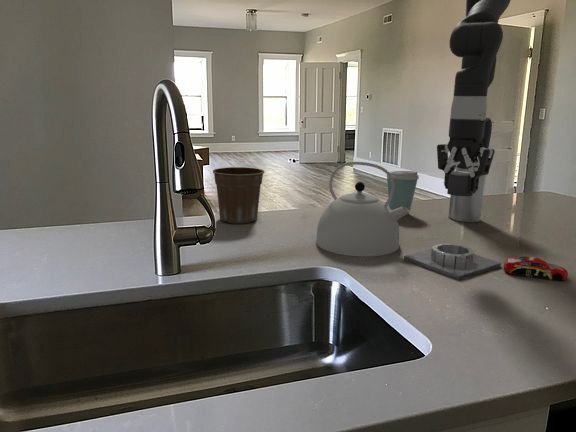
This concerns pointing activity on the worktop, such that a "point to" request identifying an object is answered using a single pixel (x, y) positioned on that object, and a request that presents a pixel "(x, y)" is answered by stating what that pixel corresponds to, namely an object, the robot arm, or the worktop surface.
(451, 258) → the square plate with hole
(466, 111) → the robot arm
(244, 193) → the plant pot
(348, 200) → the kettle
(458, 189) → the cylindrical peg
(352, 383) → the worktop surface
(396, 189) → the disposable coffee cup
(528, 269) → the race car
